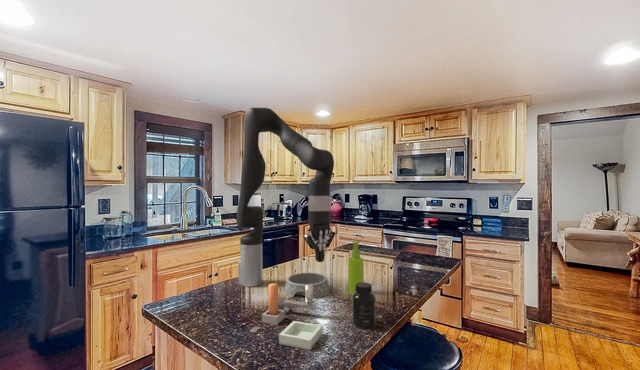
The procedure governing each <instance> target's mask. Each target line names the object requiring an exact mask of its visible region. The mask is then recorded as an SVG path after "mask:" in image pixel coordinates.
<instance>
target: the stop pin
mask: <svg viewBox="0 0 640 370" xmlns="http://www.w3.org/2000/svg"><path fill="white" fill-rule="evenodd" d="M278 297H279V283H275V282H274V283H273V282H272V283H269V284H268V308H269V315H273V316H277V315H278Z"/></svg>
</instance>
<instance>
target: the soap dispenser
mask: <svg viewBox="0 0 640 370" xmlns="http://www.w3.org/2000/svg"><path fill="white" fill-rule="evenodd" d="M360 243H362V241H361V240H354V241H352V245H353V249H351V257H349V258H348V259H347V260H348V265H347V266H348V269H347V270H348V294H349V295H352V294H354V293H355V292H356V284H357V283H360V282H364V281H365V280H364V275H365V274H364V267H365V266H364V258H362V257H361V249H359V244H360Z"/></svg>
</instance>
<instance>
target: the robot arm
mask: <svg viewBox="0 0 640 370" xmlns="http://www.w3.org/2000/svg"><path fill="white" fill-rule="evenodd" d="M243 126H244V127H243V129H244V130H243V131H244V132H243V133H244V134H243V136H244V137H243V139H244V140H243V141H244V143H243V144H244V146H243V157H242V164H241V165H242V166H241V176H240V192H239V198H238V203H237V208H236V219H235V220H236V224H237V228H239V229H252V228H253V229H252V230H251V231H250V232H249V233H247V234H245V235H243V236H241V237H240V238H239V239H240V240H239V241H240V242H239V243H240V246H239V248H240V252H239V253H240V257H239V258H240V260H239V261H238V262H237V263H238V264H237V265H238V267H237V268H238V271H237V273H238V274H237V276H238V277H237V278H238V282H237V283H238V285H240V286H242V287H248V288H249V287H257V286H260V285H262V284H263V235H264V234H263V229H264V226H263V225H264V210H263V208H262V207H261V206H259V205H249V202H250V201H251V199H252V197H253V196H254V195H255V193H257V191H258V190H259V189H260V188H261V186H262V185H263V183H264V181H265V175H266V168H267V167H266V160H265V158H264V156H263V154H262V153H261V150H260V147H259V138H260V134H261V133H267V132H269V133H271V134H274V135H276V136H277V137H279V140H280V142H281V144H282V146H283V147H284V148H285V149H286V150H287V151H288V152H289V153H291V154H293V155H294V156H296V157H297V158H298V160H299V161H300V162H301V163H302V164H303V166H305V167H306V168H307V169H309V170H313V171H315V175H314V177H313V178H311V179H309V183H308V204H307V206H308V213H307V215H308V220H307V221H308V223H309V227H308V232H307V233H306V234H303V236H302V237H303V239H304V240H305V243H306V244H307V245H308V246H309V248H310V249H311V250H314V252H315V255H314V257H315V261H316V262H318V263H323V262H324V260H325V251H326V249H327V248H328V249H329V248H330V246H331V244H332V242H333V240H334V239H335V236H336V232H335V231H333V230H331V226H330V224H331V223H332V200H331V180H332V177H333V172H334V167H335V161H334V156H333V154H332V152H330V151H329V150H326V149H320V148H317V147H315V146H314V145H313V143H312V141H310V140H309V139H307V138H306V137H305V136H303V135H302V134H300V133H299V132H297V131H296V130H294V129H293V128H292V127H291V126H290V125H288V124H287V123H286V122H285V121H284V120H283V118H281V117H280V116H279V115H278V114H277V113H276V112H275V111H274V110H273V109H271V108H268V107H249V108H248V109H247V110H246V111H245V114H244V123H243Z"/></svg>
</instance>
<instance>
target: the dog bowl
mask: <svg viewBox="0 0 640 370" xmlns="http://www.w3.org/2000/svg"><path fill="white" fill-rule="evenodd" d="M285 282H286V283H285V286H284V290H283V293H284V294H285V295H286V296H288V297H291V298H294V296H295V295H297V296H305V285H313V299H318V298H322V297H325V296H326V295H328V294H330V292H331V291H330V290H331V289H330V288H329V287H330V285H329V281H328V278H327V276H325V275H323V274H321V273H316V272H301V273H294V274H291V275H289V276H288V277H287V278H286V281H285Z"/></svg>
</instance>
